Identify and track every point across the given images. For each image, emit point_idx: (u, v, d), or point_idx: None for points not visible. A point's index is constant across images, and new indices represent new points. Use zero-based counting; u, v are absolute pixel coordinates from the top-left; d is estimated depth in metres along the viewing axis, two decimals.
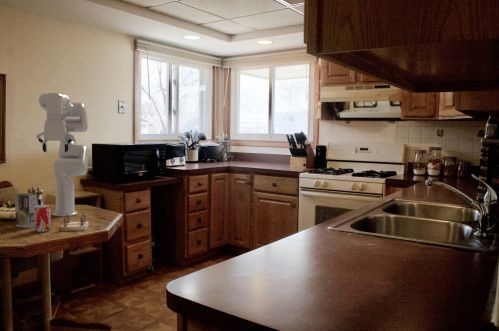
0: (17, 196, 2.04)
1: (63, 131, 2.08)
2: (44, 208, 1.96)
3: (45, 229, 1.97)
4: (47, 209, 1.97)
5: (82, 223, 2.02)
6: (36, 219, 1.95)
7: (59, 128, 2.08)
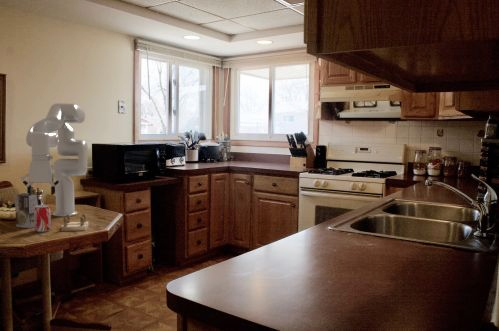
0: (17, 196, 2.04)
1: (49, 173, 1.95)
2: (44, 208, 1.96)
3: (45, 229, 1.97)
4: (47, 209, 1.97)
5: (82, 223, 2.02)
6: (36, 219, 1.95)
7: (45, 170, 1.95)
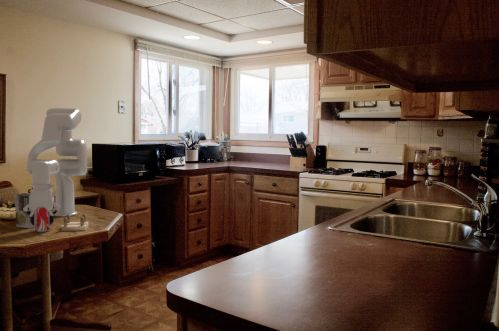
0: (17, 196, 2.04)
1: (50, 201, 1.97)
2: (44, 208, 1.96)
3: (45, 229, 1.97)
4: None
5: (82, 223, 2.02)
6: (36, 219, 1.95)
7: (45, 198, 1.96)
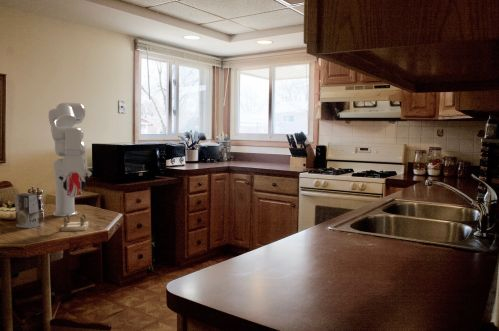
0: (18, 196, 2.04)
1: (82, 167, 2.02)
2: (76, 173, 2.01)
3: (77, 194, 2.02)
4: (79, 175, 2.02)
5: (82, 223, 2.02)
6: (69, 184, 2.00)
7: (78, 164, 2.01)
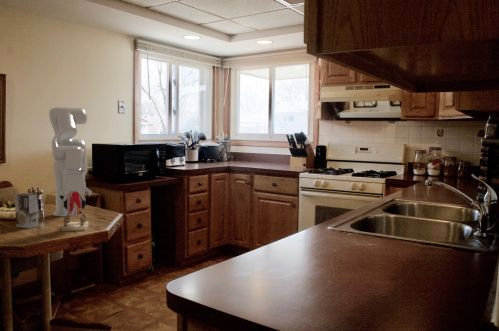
0: (17, 196, 2.04)
1: (82, 186, 2.02)
2: (77, 192, 2.02)
3: (78, 213, 2.02)
4: (79, 194, 2.03)
5: (82, 223, 2.02)
6: (69, 203, 2.01)
7: (78, 183, 2.02)
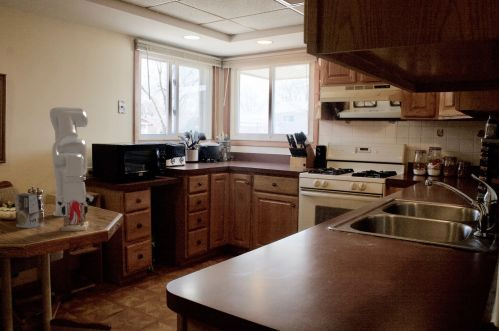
0: (18, 196, 2.04)
1: (83, 193, 2.03)
2: (77, 202, 2.02)
3: (78, 222, 2.03)
4: (79, 203, 2.03)
5: (82, 223, 2.02)
6: (69, 212, 2.01)
7: (78, 191, 2.02)
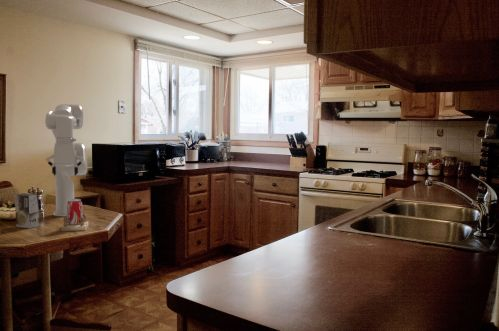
0: (17, 196, 2.04)
1: (73, 154, 2.07)
2: (77, 202, 2.02)
3: (78, 222, 2.03)
4: (79, 203, 2.03)
5: (82, 223, 2.02)
6: (69, 212, 2.01)
7: (69, 151, 2.06)
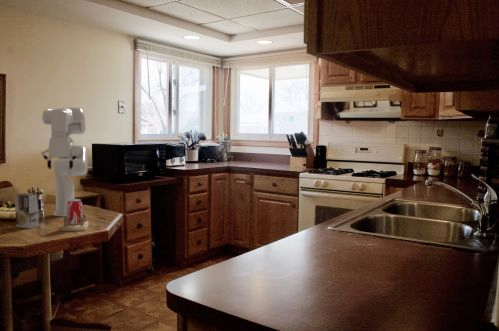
0: (17, 196, 2.04)
1: (68, 148, 2.10)
2: (77, 202, 2.02)
3: (78, 222, 2.03)
4: (79, 203, 2.03)
5: (82, 223, 2.02)
6: (69, 212, 2.01)
7: (63, 145, 2.09)
